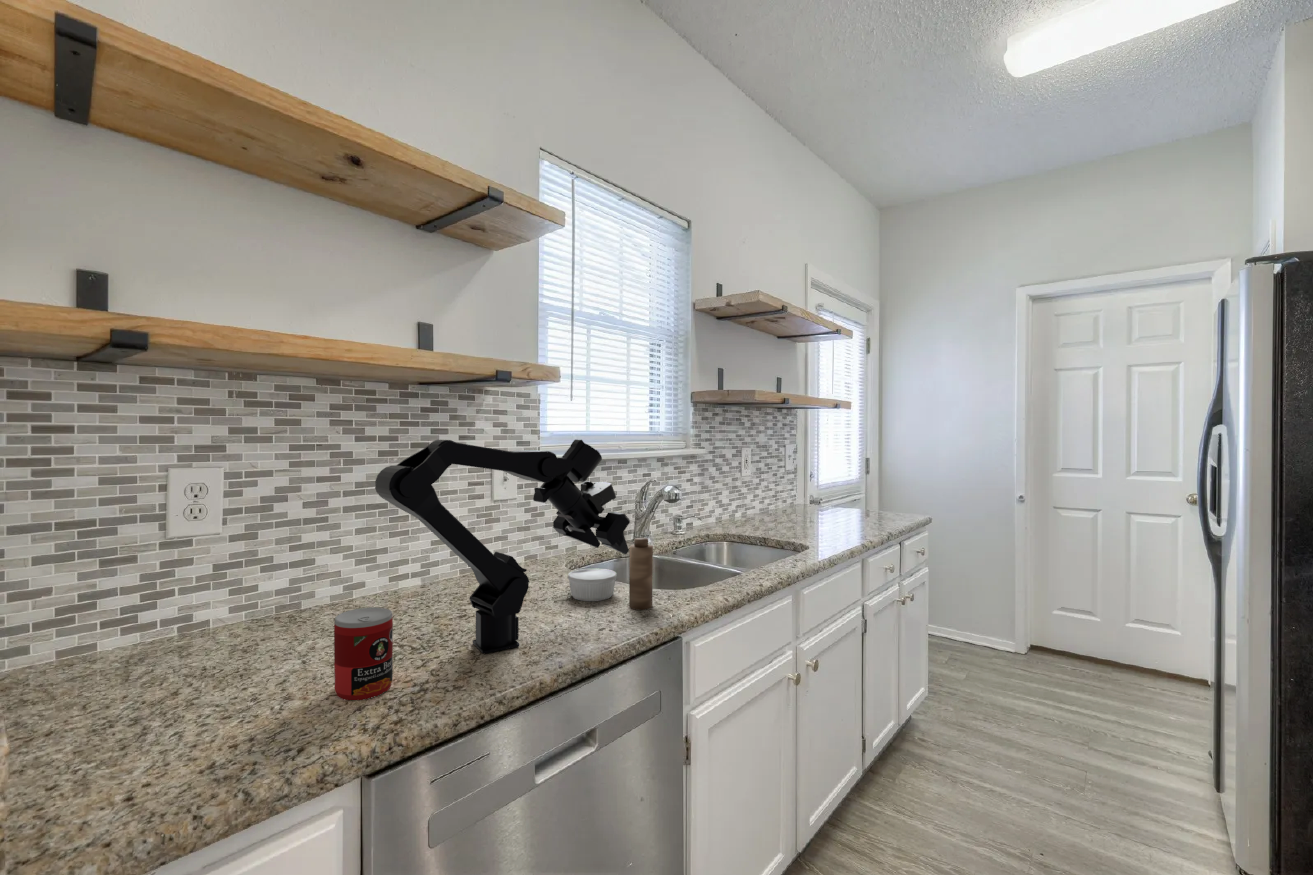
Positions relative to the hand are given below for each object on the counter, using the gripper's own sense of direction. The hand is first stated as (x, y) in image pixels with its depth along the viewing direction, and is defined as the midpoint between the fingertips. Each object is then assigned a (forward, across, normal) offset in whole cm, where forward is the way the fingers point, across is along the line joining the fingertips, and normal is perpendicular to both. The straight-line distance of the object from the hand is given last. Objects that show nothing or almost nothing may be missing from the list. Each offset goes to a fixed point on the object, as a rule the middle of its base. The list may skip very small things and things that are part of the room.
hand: (612, 549), depth 124 cm
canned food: (-25, -3, +45) cm, 51 cm away
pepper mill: (+15, 0, +4) cm, 16 cm away
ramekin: (+14, +14, +6) cm, 20 cm away
